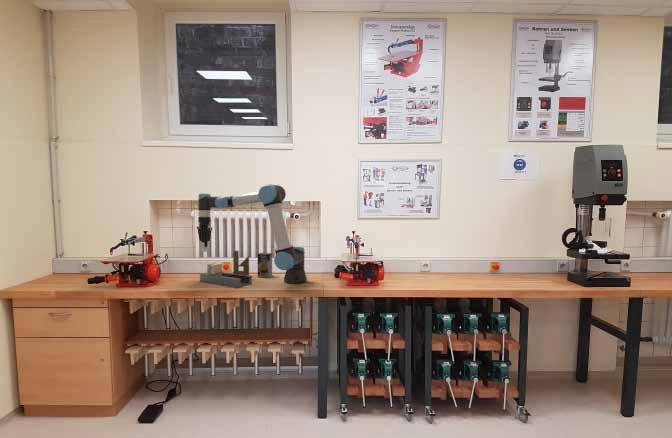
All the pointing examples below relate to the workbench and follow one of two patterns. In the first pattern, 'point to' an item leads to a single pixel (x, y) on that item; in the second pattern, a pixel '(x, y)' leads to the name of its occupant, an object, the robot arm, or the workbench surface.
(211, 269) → the maple block
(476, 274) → the workbench surface
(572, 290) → the workbench surface
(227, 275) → the steel chute
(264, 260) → the coffee box
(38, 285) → the workbench surface
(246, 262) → the dark angular piece
